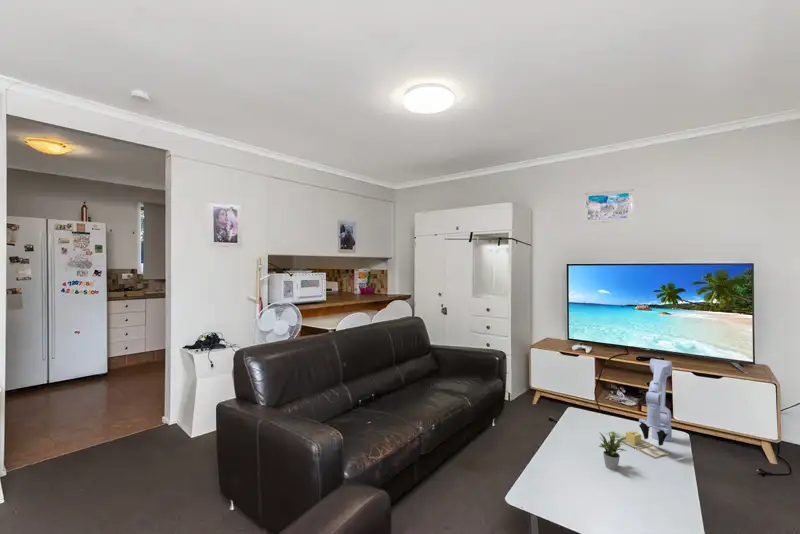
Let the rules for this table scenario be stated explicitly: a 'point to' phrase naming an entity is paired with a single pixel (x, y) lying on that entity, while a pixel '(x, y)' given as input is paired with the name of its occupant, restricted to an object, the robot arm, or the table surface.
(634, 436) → the letter cube
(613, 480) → the table surface
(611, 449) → the house plant
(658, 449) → the organizer board
